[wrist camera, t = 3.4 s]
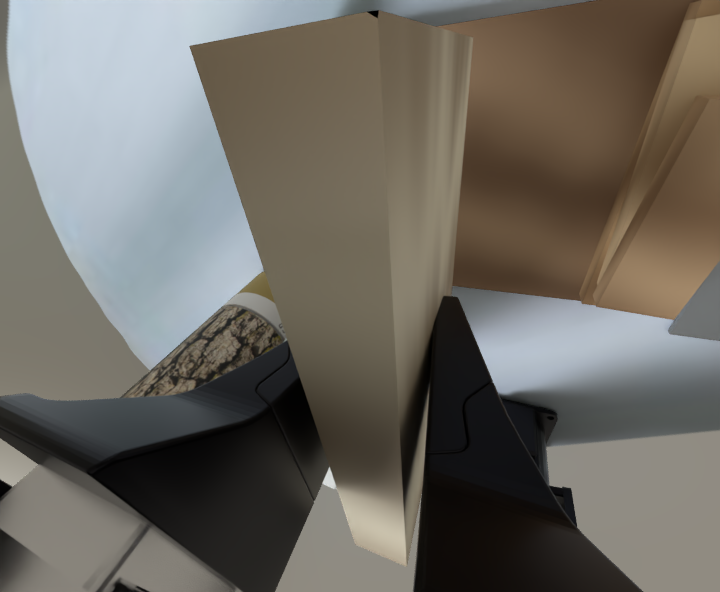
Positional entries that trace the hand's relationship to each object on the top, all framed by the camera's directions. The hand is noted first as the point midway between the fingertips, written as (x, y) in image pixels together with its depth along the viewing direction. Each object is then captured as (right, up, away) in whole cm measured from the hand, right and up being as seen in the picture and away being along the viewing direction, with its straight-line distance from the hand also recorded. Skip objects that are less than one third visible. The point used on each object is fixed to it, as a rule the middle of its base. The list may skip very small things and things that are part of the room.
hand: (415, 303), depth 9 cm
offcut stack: (+13, +5, +5) cm, 15 cm away
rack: (+6, +7, +8) cm, 12 cm away
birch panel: (+1, +1, +2) cm, 2 cm away
